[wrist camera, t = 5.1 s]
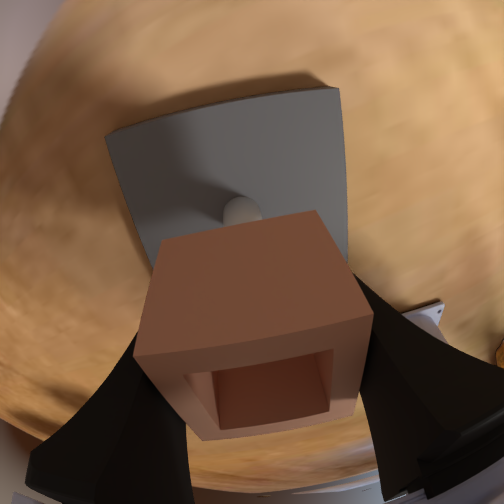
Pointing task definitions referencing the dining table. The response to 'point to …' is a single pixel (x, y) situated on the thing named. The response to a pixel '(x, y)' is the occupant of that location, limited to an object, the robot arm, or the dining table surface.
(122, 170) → the post board
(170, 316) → the collar
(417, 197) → the dining table surface
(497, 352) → the pancake mix bag
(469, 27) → the dining table surface
